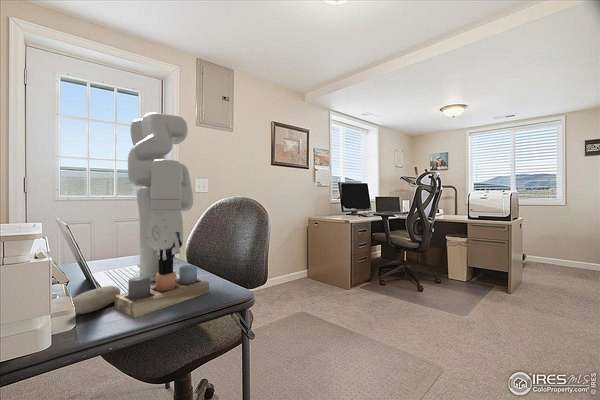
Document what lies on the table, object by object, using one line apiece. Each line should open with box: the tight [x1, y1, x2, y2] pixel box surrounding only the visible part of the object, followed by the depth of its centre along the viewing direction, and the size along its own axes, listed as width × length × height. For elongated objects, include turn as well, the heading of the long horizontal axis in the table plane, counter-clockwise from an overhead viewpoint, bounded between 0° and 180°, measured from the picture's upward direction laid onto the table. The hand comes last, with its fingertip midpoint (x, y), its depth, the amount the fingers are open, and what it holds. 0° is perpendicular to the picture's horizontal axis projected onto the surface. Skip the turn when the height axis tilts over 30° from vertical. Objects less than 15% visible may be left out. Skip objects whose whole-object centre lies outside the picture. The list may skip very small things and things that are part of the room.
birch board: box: [114, 278, 210, 319], centre depth 78 cm, size 10×21×3 cm, turn 147°
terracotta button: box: [155, 271, 176, 291], centre depth 77 cm, size 5×5×4 cm
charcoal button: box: [127, 276, 151, 298], centre depth 72 cm, size 5×5×4 cm
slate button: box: [178, 264, 198, 284], centre depth 83 cm, size 5×5×4 cm
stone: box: [71, 285, 121, 315], centre depth 71 cm, size 6×6×12 cm
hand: (165, 273), depth 77 cm, fingers closed
